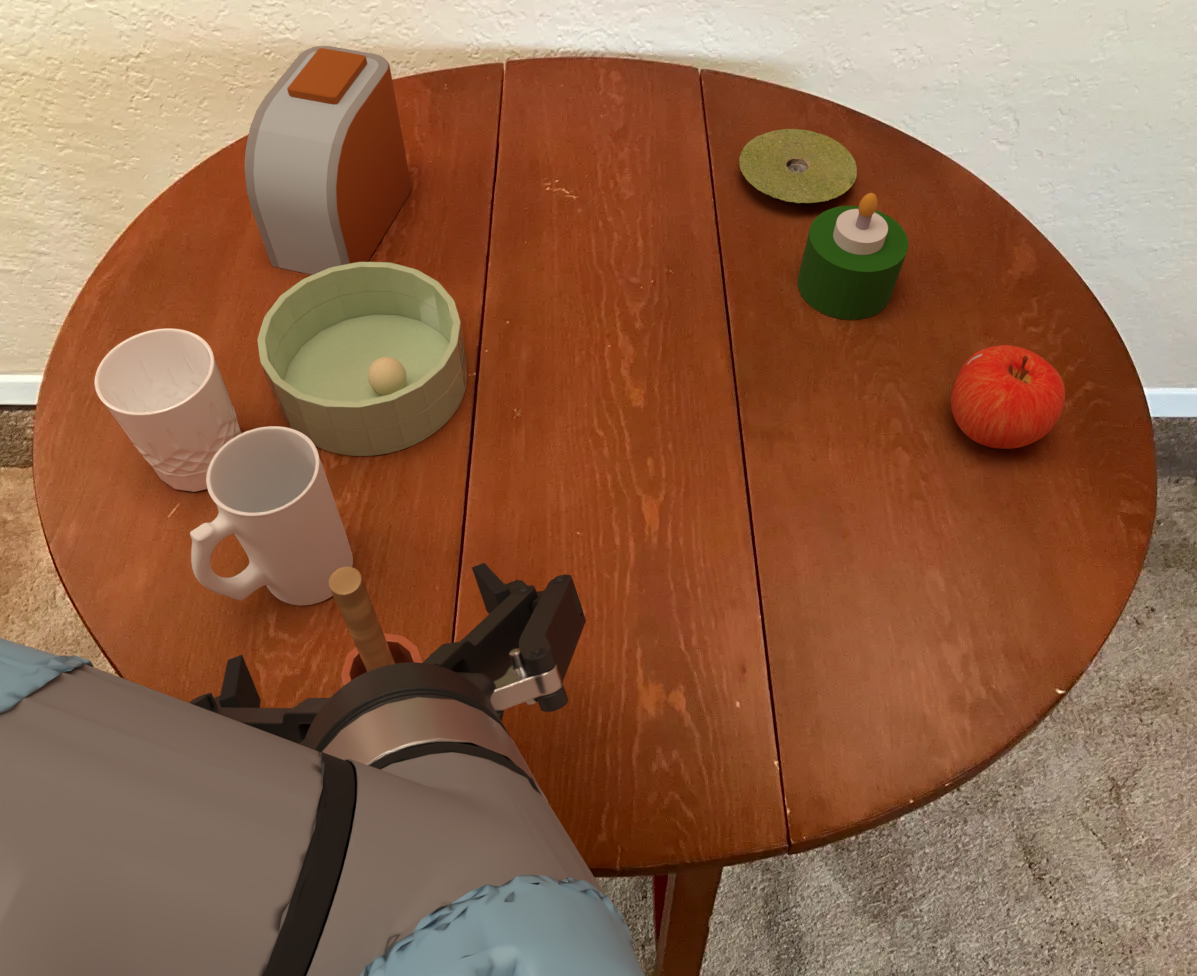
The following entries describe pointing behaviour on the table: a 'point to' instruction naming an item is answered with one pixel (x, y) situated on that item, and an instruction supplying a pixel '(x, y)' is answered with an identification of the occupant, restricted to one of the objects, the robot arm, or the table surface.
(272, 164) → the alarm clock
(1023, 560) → the table surface
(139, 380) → the white cup
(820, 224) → the candle
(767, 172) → the mat
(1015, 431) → the apple
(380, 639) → the stick
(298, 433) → the mug
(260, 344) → the bowl
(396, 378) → the dough ball
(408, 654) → the crock
